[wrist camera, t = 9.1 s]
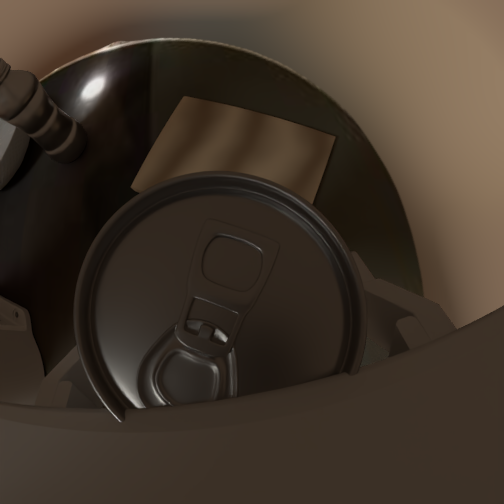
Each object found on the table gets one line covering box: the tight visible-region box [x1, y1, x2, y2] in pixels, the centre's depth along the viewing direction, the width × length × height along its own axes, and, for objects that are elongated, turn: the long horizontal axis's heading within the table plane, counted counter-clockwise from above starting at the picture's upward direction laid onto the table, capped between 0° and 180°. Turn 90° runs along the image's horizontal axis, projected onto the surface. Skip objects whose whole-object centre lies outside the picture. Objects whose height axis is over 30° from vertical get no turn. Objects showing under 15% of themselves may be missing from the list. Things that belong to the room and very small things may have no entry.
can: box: [73, 171, 367, 422], centre depth 11 cm, size 6×6×12 cm
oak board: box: [131, 96, 335, 204], centre depth 32 cm, size 20×14×1 cm
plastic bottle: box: [0, 58, 87, 164], centre depth 26 cm, size 6×7×20 cm
